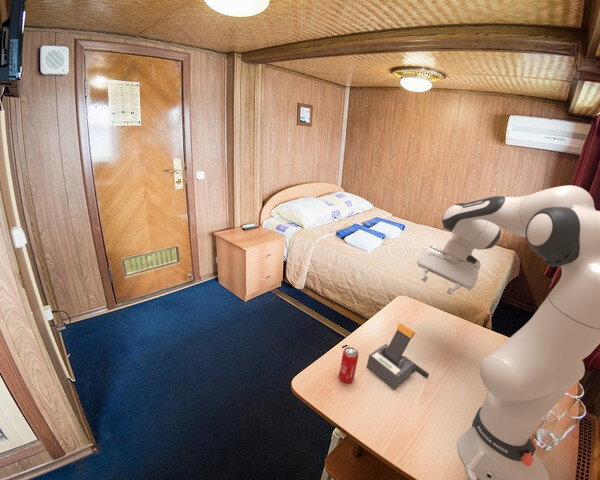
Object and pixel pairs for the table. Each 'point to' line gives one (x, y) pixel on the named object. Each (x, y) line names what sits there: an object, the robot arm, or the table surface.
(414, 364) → the bar
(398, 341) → the breaker lever
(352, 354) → the beverage can
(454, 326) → the table surface
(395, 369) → the breaker housing
